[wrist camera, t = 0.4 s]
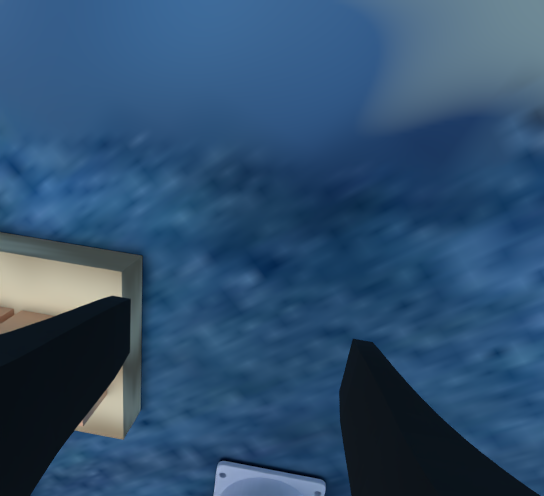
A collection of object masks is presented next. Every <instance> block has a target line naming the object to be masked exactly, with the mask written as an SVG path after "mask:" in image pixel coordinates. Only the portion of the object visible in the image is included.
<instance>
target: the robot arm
mask: <svg viewBox="0 0 544 496" xmlns="http://www.w3.org/2000/svg"><path fill="white" fill-rule="evenodd" d="M130 323H131V299H129V298H124V297H118V296H109V297H106V298H102V299H99V300H97V301H94V302H91V303H88V304H86V305H83V306H80V307H78V308H75V309H72V310H70V311H67V312H64V313H62V314H59V315H56V316H54V317H51V318H48V319H45V320H42V321H39V322H36V323H34V324H31V325H28V326H25V327H22V328H19V329H16V330H13V331H10V332H6V333H3V334H0V496H30V495H31V493H32V491H33V490H34V488H35V487H36V485H37V484H38V482H39V480H40V479H41V477H42V476H43V474H44V473H45V471H46V470H47V468H48V466H49V465H50V463H51V462H52V460H53V459H54V457H55V456H56V454H57V453H58V452H59V450H60V449H61V447H62V446H63V445H64V443H65V442H66V440H67V439H68V438H69V437H70V435H71V434H72V433H73V432H74V430H75V429H76V428H77V426H78V425H79V424H80V423H81V421H82V420H83V419H84V418H85V416H86V415H87V414H88V412H89V411H90V410H91V409H92V407H93V406H94V405H95V404H96V402H97V401H98V400H99V398H100V397H101V396H102V395H103V393H104V392H105V391H106V389H107V388H108V387H109V386H110V384H111V383H112V382H113V380H114V379H115V377H116V376H117V374H118V372H119V371H120V369H121V367H122V366H123V364H124V362H125V360H126V359H127V357H128V355H129V353H130ZM339 396H340V423H341V430H342V437H343V444H344V450H345V457H346V463H347V469H348V476H349V482H350V488H351V495H352V496H540V495H539V494H537V493H536V492H534V491H533V490H531V489H530V488H528V487H527V486H525V485H524V484H523V483H521V482H520V481H518V480H517V479H516V478H514V477H513V476H511V475H510V474H509V473H507V472H506V471H505V470H503V469H502V468H501V467H499V466H498V465H497V464H496V463H494V462H493V461H492V460H490V459H489V458H488V457H486V456H485V455H484V454H483V453H481V452H480V451H479V450H478V449H476V448H475V447H474V446H473V445H471V444H470V443H469V442H468V441H467V440H466V439H464V438H463V437H462V436H461V435H460V434H459V433H458V432H456V431H455V430H454V429H453V428H452V427H451V426H450V425H449V424H447V423H446V422H445V421H444V420H443V419H442V418H441V417H440V416H439V415H438V414H437V413H436V412H435V411H434V410H433V409H432V408H431V407H430V406H429V405H428V404H427V403H426V402H425V401H424V400H423V399H422V398H421V397H420V396H419V395H418V394H417V393H416V392H415V391H414V390H413V388H412V387H411V386H410V385H409V384H408V383H407V382H406V381H405V380H404V378H403V377H402V376H401V375H400V374H399V373H398V372H397V370H396V369H395V368H394V367H393V366H392V364H391V363H390V362H389V361H388V360H387V359H386V357H385V356H384V355H383V354H382V353H381V351H380V350H379V349H378V348H377V347H376V346H375V344H374V343H373V342H368V341H362V340H357V339H353V341H352V344H351V348H350V352H349V356H348V360H347V364H346V368H345V372H344V375H343V379H342V383H341V387H340V391H339ZM325 491H326V483H325V482H324V481H323V480H321V479H316V478H311V477H306V476H301V475H296V474H290V473H285V472H280V471H275V470H270V469H264V468H259V467H254V466H249V465H244V464H238V463H233V462H228V461H220V462H219V463H218V465H217V470H216V479H215V488H214V496H324V495H325Z"/></svg>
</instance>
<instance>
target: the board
mask: <svg viewBox="0 0 544 496" xmlns="http://www.w3.org/2000/svg"><path fill="white" fill-rule="evenodd" d="M109 296H118V297H124V298H129V299H131V323H130V353H129V355H128V357H127V359H126V360H125V362H124V364H123V366H122V367H121V369H120V371H119V372H118V374H117V376H116V377H115V379H114V380H113V382H112V383H111V384H110V386H109V387H108V388H107V395H106V397H105V398H104V399H103V401H102V402H101V403H100V405H99V406H98V407H97V409H96V410H95V411H94V413H93V414H92V415H91V417H90V418H89V419H88V421H87V422H86V423H85V425H84V426H83V427H82V426H77V428H76V429H75V430H76V431H81V432H86V433H92V434H97V435H102V436H107V437H112V438H118V439H124V438H125V436H126V434H127V433H128V431H129V429H130V428H131V426H132V424H133V423H134V421H135V419H136V417H137V416H138V414H139V412H140V411H141V336H142V256H141V255H135V254H129V253H123V252H117V251H111V250H105V249H99V248H93V247H87V246H81V245H75V244H69V243H63V242H57V241H51V240H45V239H39V238H33V237H27V236H20V235H14V234H8V233H2V232H0V306H1V307H7V308H13V309H14V315H15V314H17V313H18V312H20V311H21V310H24V311H30V312H35V313H41V314H47V315H52V316H56V315H59V314H62V313H64V312H67V311H70V310H72V309H75V308H78V307H80V306H83V305H86V304H88V303H91V302H94V301H97V300H99V299H102V298H106V297H109Z"/></svg>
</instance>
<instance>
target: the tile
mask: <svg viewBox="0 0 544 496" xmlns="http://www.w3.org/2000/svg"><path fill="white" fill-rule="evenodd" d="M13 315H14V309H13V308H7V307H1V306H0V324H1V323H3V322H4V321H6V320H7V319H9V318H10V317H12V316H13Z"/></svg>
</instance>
